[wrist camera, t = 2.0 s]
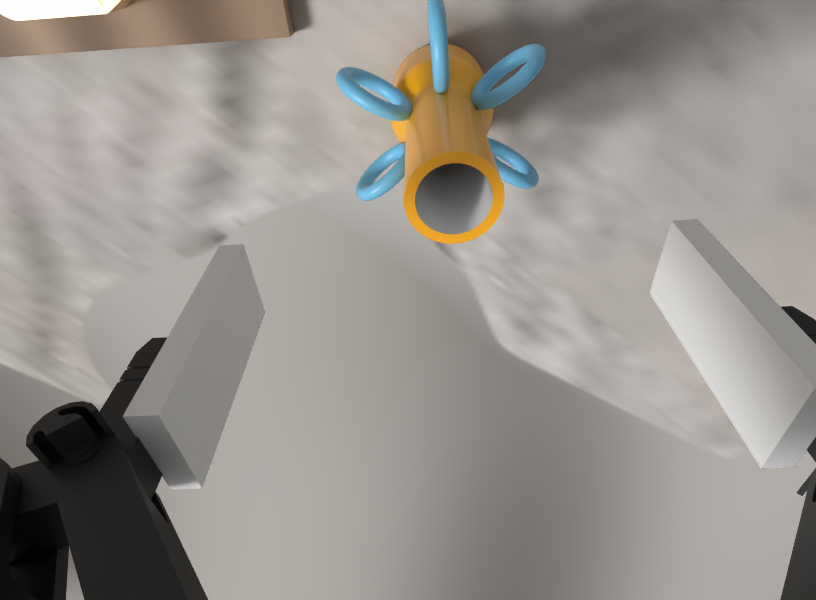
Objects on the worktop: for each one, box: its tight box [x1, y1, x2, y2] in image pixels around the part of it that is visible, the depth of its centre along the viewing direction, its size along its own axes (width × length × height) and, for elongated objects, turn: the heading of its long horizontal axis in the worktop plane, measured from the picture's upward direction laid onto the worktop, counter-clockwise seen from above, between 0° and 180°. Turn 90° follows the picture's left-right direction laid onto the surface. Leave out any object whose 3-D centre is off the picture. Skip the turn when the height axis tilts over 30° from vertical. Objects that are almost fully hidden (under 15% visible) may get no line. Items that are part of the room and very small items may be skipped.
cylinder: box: [336, 0, 546, 244], centre depth 25 cm, size 12×10×15 cm
